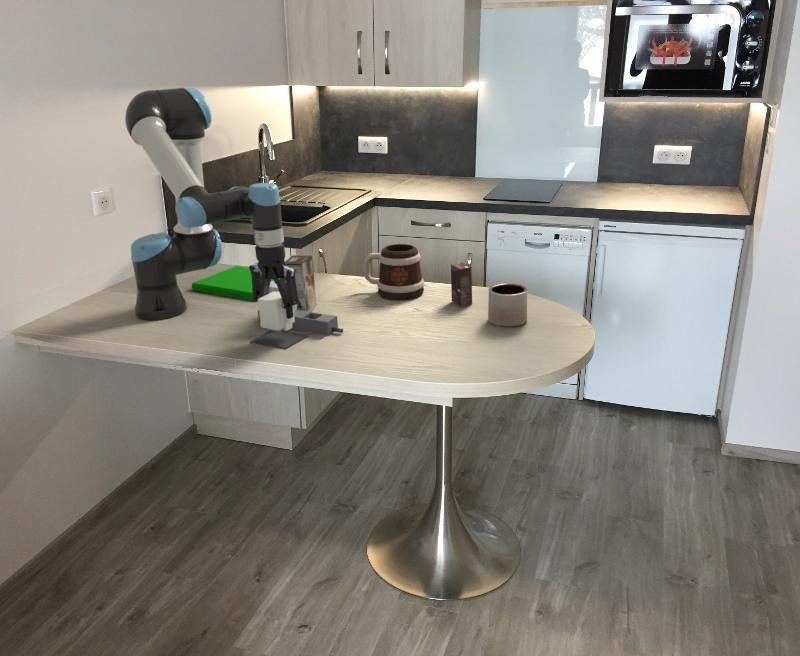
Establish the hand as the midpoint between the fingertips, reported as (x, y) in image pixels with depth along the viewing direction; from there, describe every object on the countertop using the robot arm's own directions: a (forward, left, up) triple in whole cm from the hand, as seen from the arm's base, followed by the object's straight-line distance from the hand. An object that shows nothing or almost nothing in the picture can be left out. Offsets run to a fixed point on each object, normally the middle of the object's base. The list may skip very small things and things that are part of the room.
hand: (278, 327), depth 195 cm
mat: (0, 0, -4) cm, 4 cm away
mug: (+10, +47, -4) cm, 48 cm away
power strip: (0, +10, -4) cm, 11 cm away
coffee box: (-8, +22, -4) cm, 24 cm away
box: (+34, +46, -4) cm, 57 cm away
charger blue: (-7, +10, -1) cm, 12 cm away
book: (-40, +35, -4) cm, 54 cm away
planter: (+52, +37, -4) cm, 64 cm away
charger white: (0, 0, 0) cm, 0 cm away
